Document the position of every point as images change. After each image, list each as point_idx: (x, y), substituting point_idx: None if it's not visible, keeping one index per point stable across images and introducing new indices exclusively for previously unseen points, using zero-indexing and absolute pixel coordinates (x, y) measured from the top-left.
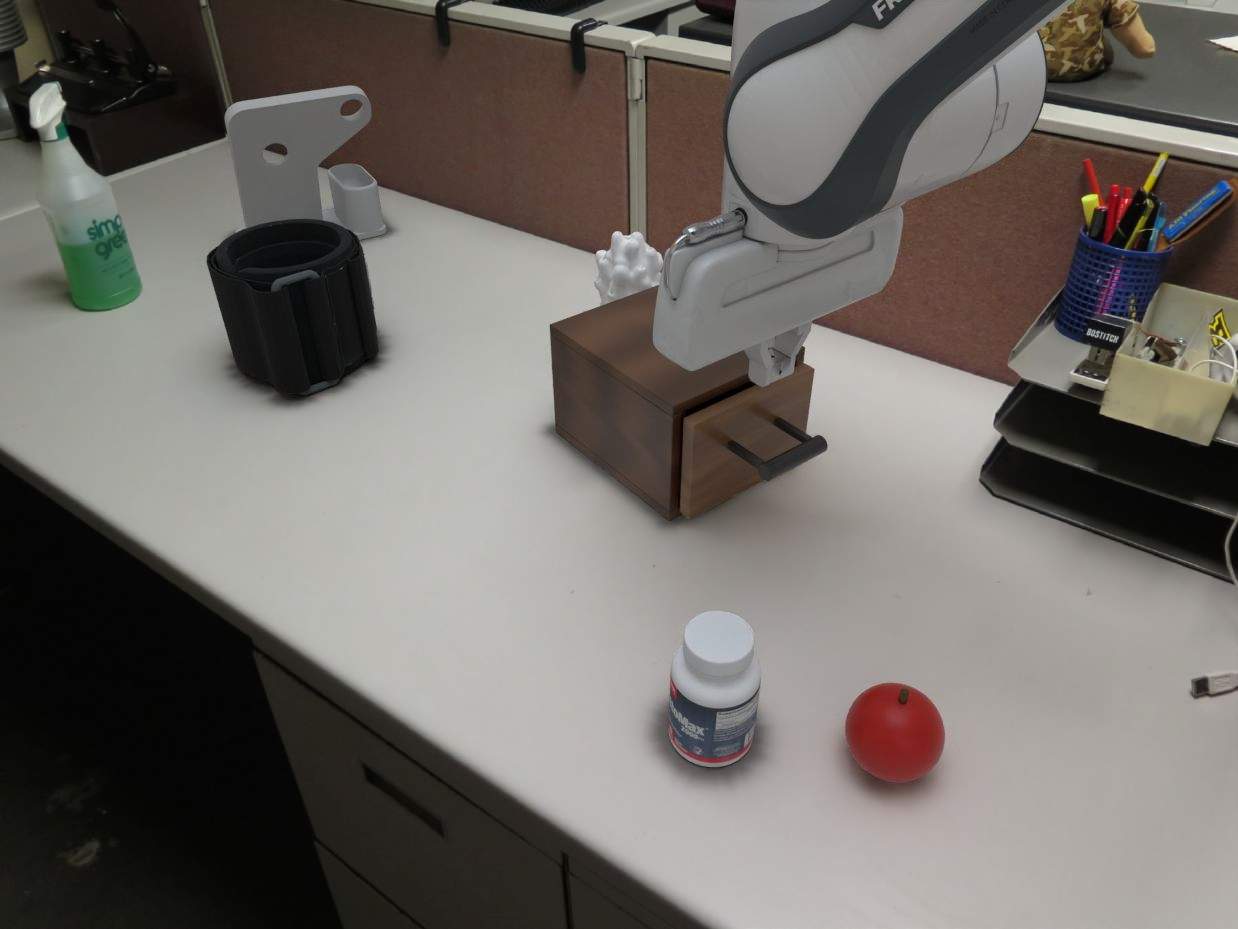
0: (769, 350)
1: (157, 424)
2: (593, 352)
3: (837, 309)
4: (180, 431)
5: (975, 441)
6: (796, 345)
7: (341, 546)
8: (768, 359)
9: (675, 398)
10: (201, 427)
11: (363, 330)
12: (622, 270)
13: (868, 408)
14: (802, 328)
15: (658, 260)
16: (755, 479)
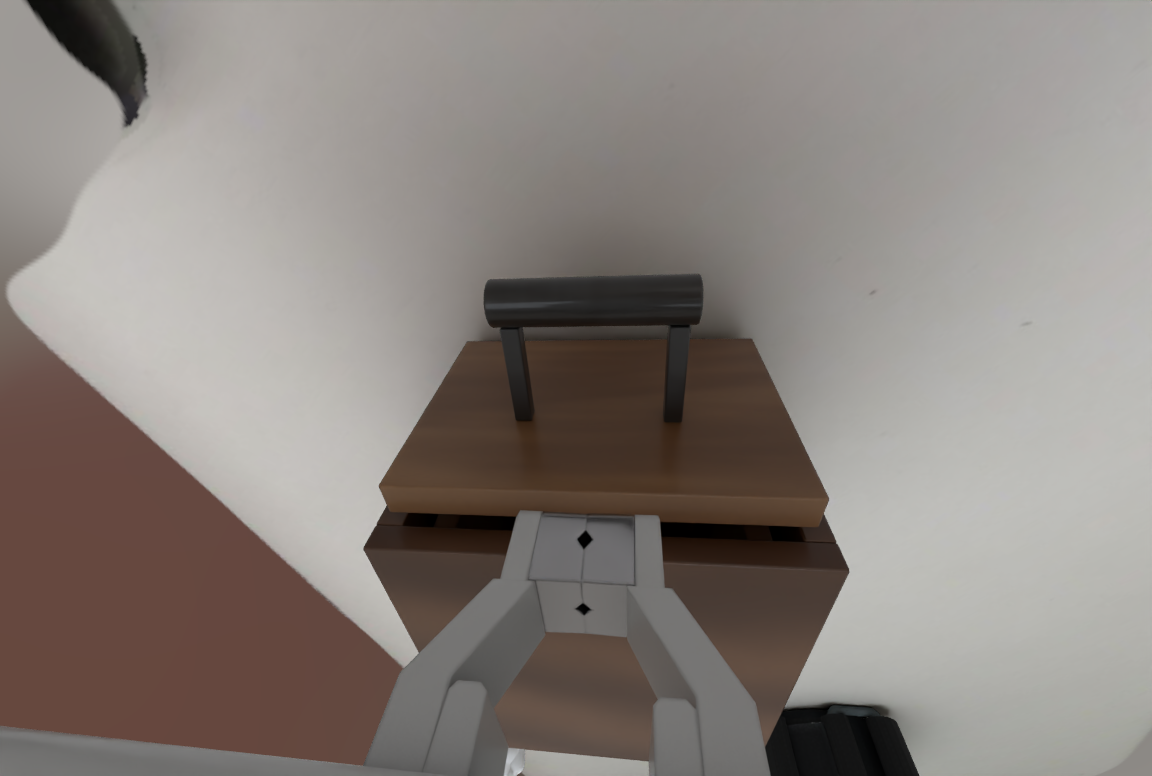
0: (563, 628)
1: (1006, 736)
2: (776, 719)
3: (193, 758)
4: (1003, 724)
5: (108, 197)
6: (495, 625)
7: (1106, 555)
8: (671, 628)
9: (810, 585)
10: (985, 720)
11: (794, 761)
12: (507, 753)
13: (273, 377)
14: (449, 715)
15: None
16: (587, 345)
